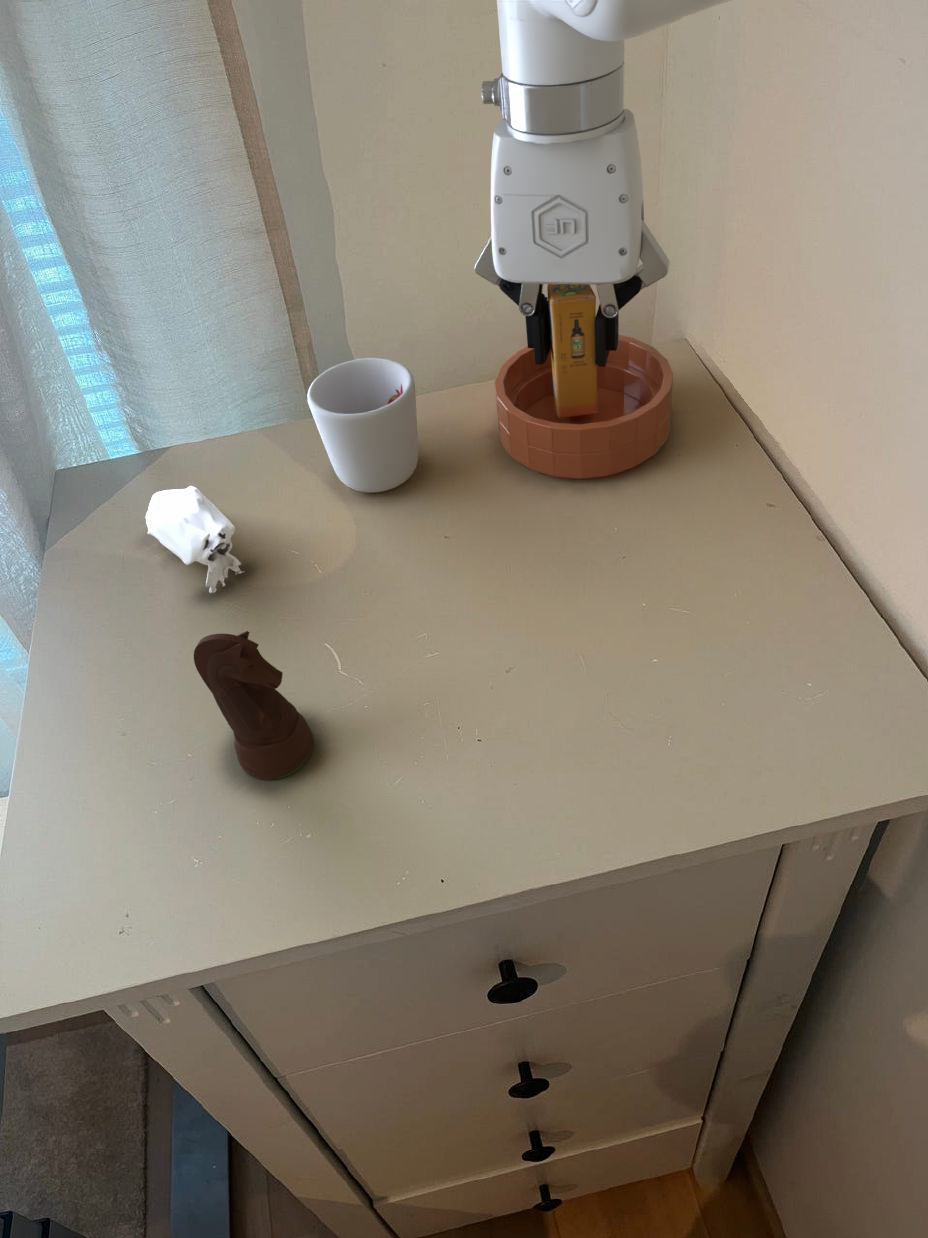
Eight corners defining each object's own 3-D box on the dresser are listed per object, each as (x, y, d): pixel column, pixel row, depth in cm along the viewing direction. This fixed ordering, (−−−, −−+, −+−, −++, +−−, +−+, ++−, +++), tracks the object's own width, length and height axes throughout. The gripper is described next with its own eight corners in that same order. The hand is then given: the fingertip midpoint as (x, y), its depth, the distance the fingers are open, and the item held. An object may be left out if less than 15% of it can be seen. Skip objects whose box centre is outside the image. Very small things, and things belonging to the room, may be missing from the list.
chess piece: (299, 785, 56) (253, 673, 49) (219, 774, 57) (163, 663, 50) (324, 723, 59) (284, 609, 52) (248, 714, 60) (199, 601, 53)
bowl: (678, 389, 80) (681, 334, 76) (658, 490, 71) (660, 434, 67) (520, 381, 83) (516, 329, 79) (482, 477, 74) (476, 423, 71)
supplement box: (592, 392, 78) (591, 274, 71) (598, 416, 76) (597, 297, 68) (551, 396, 78) (546, 280, 71) (556, 420, 76) (550, 302, 69)
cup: (306, 445, 80) (283, 359, 74) (395, 415, 82) (379, 329, 76) (347, 517, 73) (324, 429, 67) (444, 483, 74) (430, 394, 69)
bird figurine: (272, 565, 72) (190, 491, 75) (248, 516, 66) (159, 438, 69) (221, 609, 70) (140, 531, 74) (191, 563, 64) (104, 480, 68)
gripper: (421, 123, 60) (456, 378, 73) (693, 115, 56) (679, 387, 69) (452, 82, 65) (479, 328, 78) (704, 72, 61) (689, 333, 74)
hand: (573, 353), depth 74 cm, fingers closed on supplement box, 4 cm apart
